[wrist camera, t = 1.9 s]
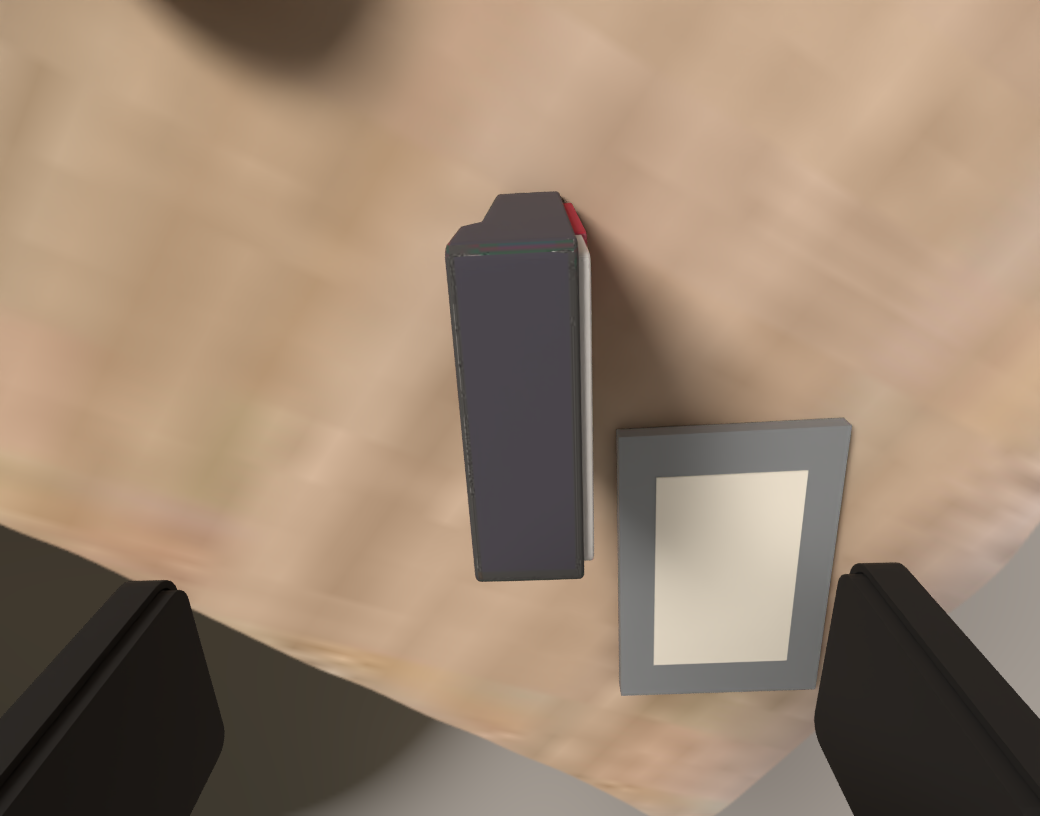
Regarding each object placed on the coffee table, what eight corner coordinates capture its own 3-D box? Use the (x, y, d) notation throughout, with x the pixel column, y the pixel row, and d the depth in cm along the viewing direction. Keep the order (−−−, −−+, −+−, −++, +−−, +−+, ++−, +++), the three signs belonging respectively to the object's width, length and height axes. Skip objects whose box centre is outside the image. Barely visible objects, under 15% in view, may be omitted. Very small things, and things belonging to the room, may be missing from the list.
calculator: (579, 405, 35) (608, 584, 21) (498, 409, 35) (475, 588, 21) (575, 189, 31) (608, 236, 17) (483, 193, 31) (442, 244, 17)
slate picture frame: (843, 417, 35) (852, 426, 34) (809, 676, 42) (815, 690, 41) (616, 429, 36) (618, 438, 35) (619, 683, 42) (621, 696, 41)
